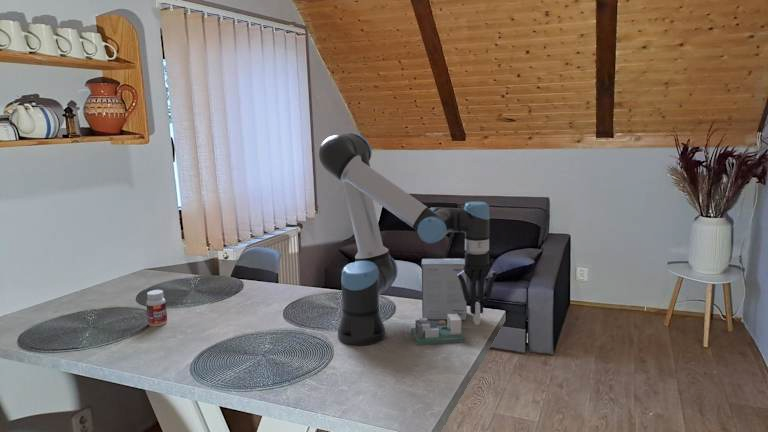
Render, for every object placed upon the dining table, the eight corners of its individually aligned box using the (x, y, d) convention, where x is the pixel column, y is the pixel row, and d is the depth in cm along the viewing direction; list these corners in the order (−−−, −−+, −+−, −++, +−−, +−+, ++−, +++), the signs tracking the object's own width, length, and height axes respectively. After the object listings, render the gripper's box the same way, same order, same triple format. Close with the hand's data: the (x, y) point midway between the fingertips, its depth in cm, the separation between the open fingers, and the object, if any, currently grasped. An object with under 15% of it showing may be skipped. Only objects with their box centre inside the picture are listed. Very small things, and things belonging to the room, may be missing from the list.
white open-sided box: (451, 334, 172) (451, 320, 171) (447, 328, 177) (447, 314, 176) (461, 334, 172) (461, 319, 171) (457, 327, 178) (457, 313, 177)
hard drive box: (465, 312, 195) (466, 258, 191) (466, 320, 187) (467, 264, 183) (422, 311, 196) (422, 257, 192) (421, 319, 189) (421, 263, 185)
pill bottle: (155, 328, 185) (152, 296, 182) (144, 324, 188) (141, 293, 186) (171, 322, 190) (168, 291, 188) (160, 318, 193) (157, 288, 191)
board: (416, 344, 168) (416, 328, 167) (411, 331, 179) (411, 316, 178) (464, 341, 170) (464, 326, 169) (456, 328, 180) (456, 313, 179)
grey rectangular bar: (417, 328, 172) (417, 325, 172) (416, 325, 174) (416, 322, 174) (446, 326, 173) (445, 322, 172) (444, 323, 175) (444, 319, 175)
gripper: (459, 255, 166) (459, 328, 171) (501, 253, 168) (500, 325, 172) (453, 249, 174) (453, 319, 178) (493, 247, 175) (492, 317, 179)
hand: (476, 322), depth 175 cm, fingers closed
